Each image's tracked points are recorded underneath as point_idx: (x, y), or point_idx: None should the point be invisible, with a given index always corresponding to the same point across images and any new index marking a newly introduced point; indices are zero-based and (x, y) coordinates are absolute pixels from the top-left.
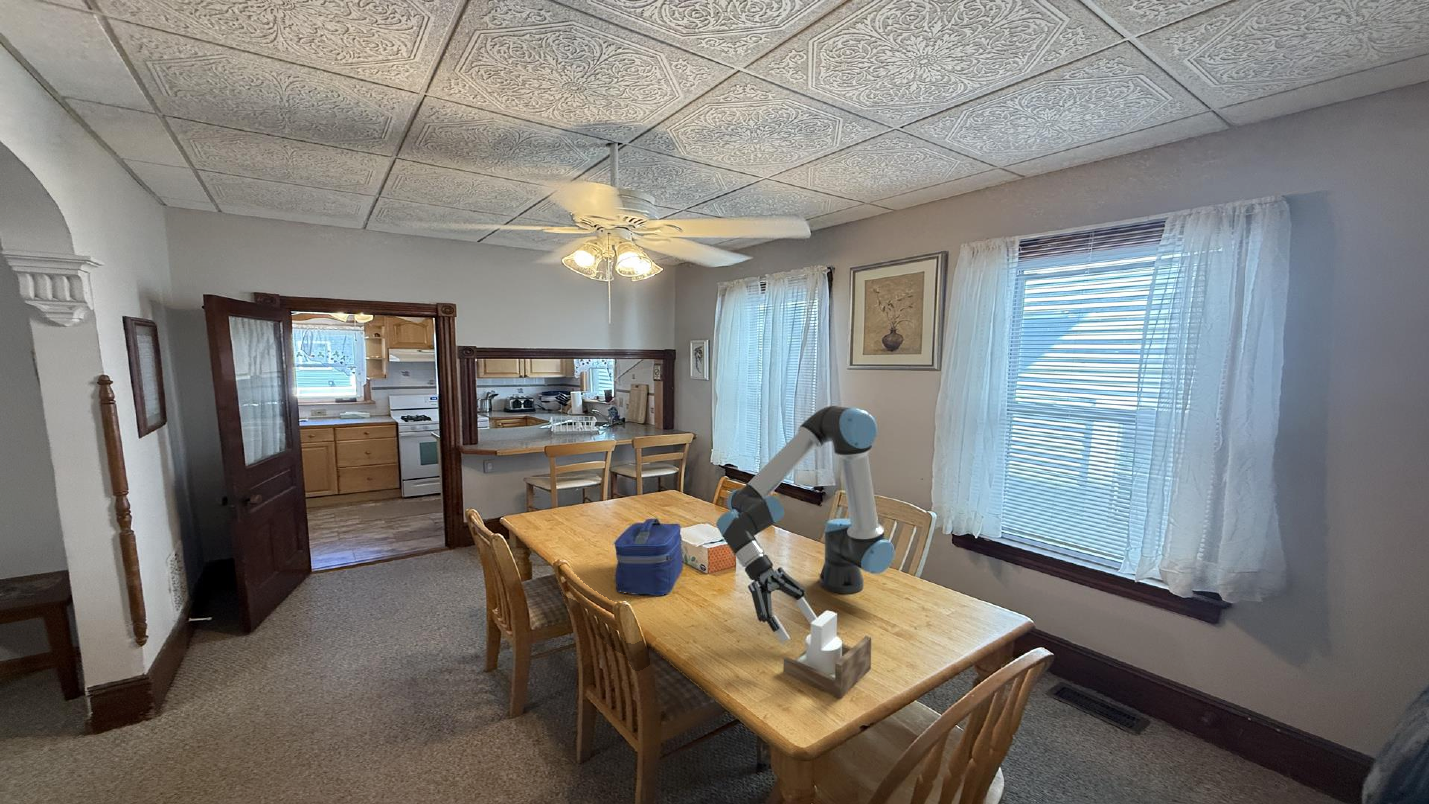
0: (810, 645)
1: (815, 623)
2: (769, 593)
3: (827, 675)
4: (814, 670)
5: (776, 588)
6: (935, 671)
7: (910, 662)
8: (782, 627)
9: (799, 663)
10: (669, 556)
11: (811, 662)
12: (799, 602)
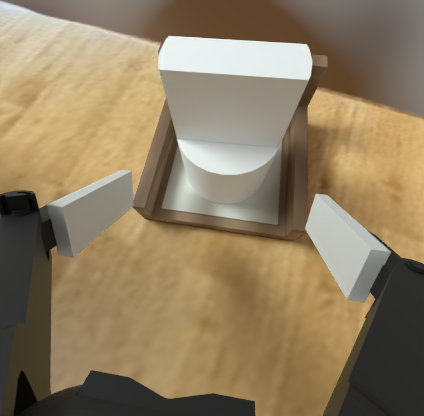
0: (276, 148)
1: (298, 66)
2: (375, 401)
3: (299, 122)
4: (301, 149)
5: (138, 394)
6: (135, 40)
7: (124, 67)
8: (341, 213)
9: (299, 187)
10: None
11: (268, 170)
12: (79, 231)
